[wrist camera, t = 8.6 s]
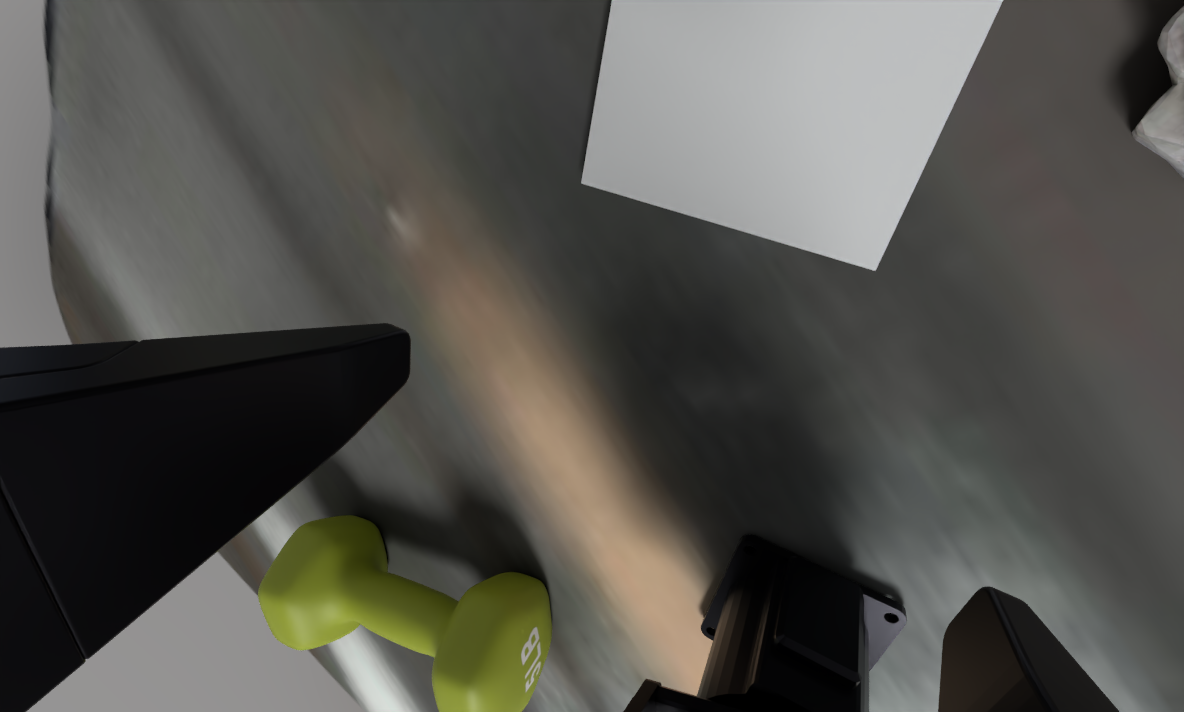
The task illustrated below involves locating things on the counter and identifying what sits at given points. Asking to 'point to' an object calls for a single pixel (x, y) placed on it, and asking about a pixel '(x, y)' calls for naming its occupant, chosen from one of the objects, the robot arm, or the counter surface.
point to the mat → (781, 111)
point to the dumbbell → (410, 614)
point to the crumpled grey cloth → (1168, 101)
